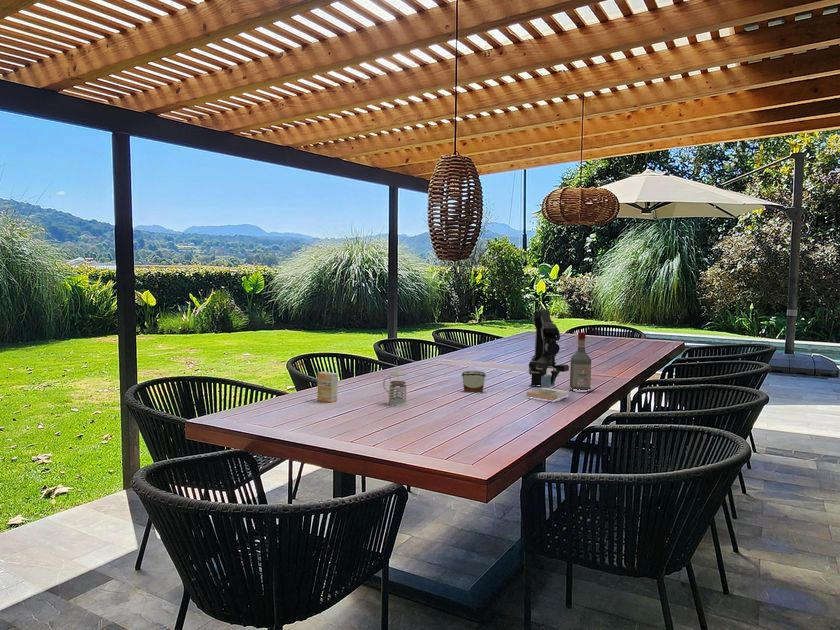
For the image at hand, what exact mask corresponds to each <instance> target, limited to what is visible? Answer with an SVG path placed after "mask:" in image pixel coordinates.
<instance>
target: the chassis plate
mask: <svg viewBox="0 0 840 630" xmlns="http://www.w3.org/2000/svg"><path fill="white" fill-rule="evenodd" d="M566 395H570V391H569V390H562V389H555V388H551V387H549V388H548V387H539V388H536V389H533V390H529V391H527V392H526V398H527V397H533V398H540V399H547V400H555V399H558V398H561V397H563V396H566Z"/></svg>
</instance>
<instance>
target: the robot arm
mask: <svg viewBox="0 0 840 630" xmlns="http://www.w3.org/2000/svg"><path fill="white" fill-rule="evenodd" d="M531 317H532V318H531V320H532V323H533V326H534V327H535V339H534V341H535V342H534V355H533V356H532V357H531V360H530V361H529V363H528V374H529V375H531V381H530V382H531V383H530V384H531V385H541V376H544V374H547V372H548V369H551V370H550V374H551V375H552V377H551V385H553V383H554V381H555V382H556V379H557V377H558V375H559V374H560V373H561V372H562V373H564V372H568V371H570V366H569V364H565V363H560V364H557V362H556V357H557V354H558V353H559V352H560V350H561V348H560V345H559V344H558V343H557V342H559V341H560V340H561V334H560V330H559V328H558V327H557V325H556V324H555V323H554V322H552V319H551V312H550V310H549V309H546V308H544V309H543V308H542V309H541V308H540V309H538V310H537V311H534V312H533V313H532V316H531Z"/></svg>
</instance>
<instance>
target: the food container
mask: <svg viewBox="0 0 840 630" xmlns="http://www.w3.org/2000/svg"><path fill="white" fill-rule="evenodd" d="M460 376H461V377H462V384H463V393H471V392H483V393H484V385H485V378H487V374H486V372H484V371H480V370H465V371H463V372H462V373H461V375H460Z"/></svg>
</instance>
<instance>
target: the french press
mask: <svg viewBox="0 0 840 630" xmlns="http://www.w3.org/2000/svg"><path fill="white" fill-rule="evenodd" d="M395 351H396V352H397V359H399V356H400V355H399V354H400V353H399V352H401V349H400V348H396V350H395ZM407 374H408V373H407V372H406V371H405V370H404V371H403V370H401V369H395V370H391V371H390V372H389V375H388V376H386V377H385V378H384V379H383V382H382V387H383V390H385V391H386V392H387V393H388V401H387V403H388V404H390V405H389V406H392V405H404V406H407V405H406V404H408V405H409V402H408V401H407V385H406V383H407V382H406V381H403V380H402V381H401V380H392V381H389V384H390V385H389V386H388V387H389V390H388V389H387V388H386V383H385V382H386V381H387V378H388V379H389V380H391V376H393V377H394V376H395V377H405V376H407ZM388 404H387V405H388Z"/></svg>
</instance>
